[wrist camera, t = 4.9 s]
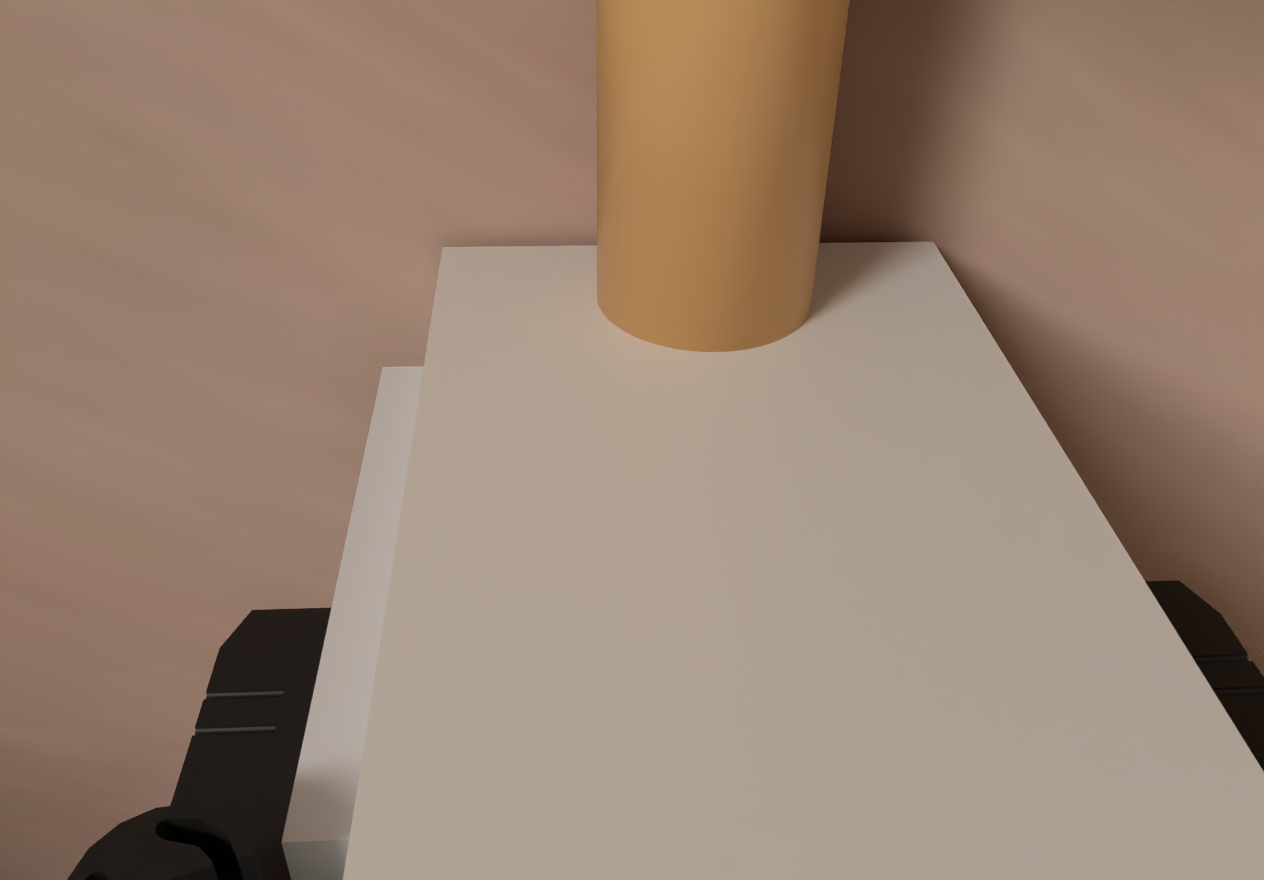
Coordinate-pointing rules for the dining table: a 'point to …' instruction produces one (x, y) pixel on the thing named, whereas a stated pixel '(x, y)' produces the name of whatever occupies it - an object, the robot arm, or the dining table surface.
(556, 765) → the white block dumbbell
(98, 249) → the dining table surface
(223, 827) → the robot arm
